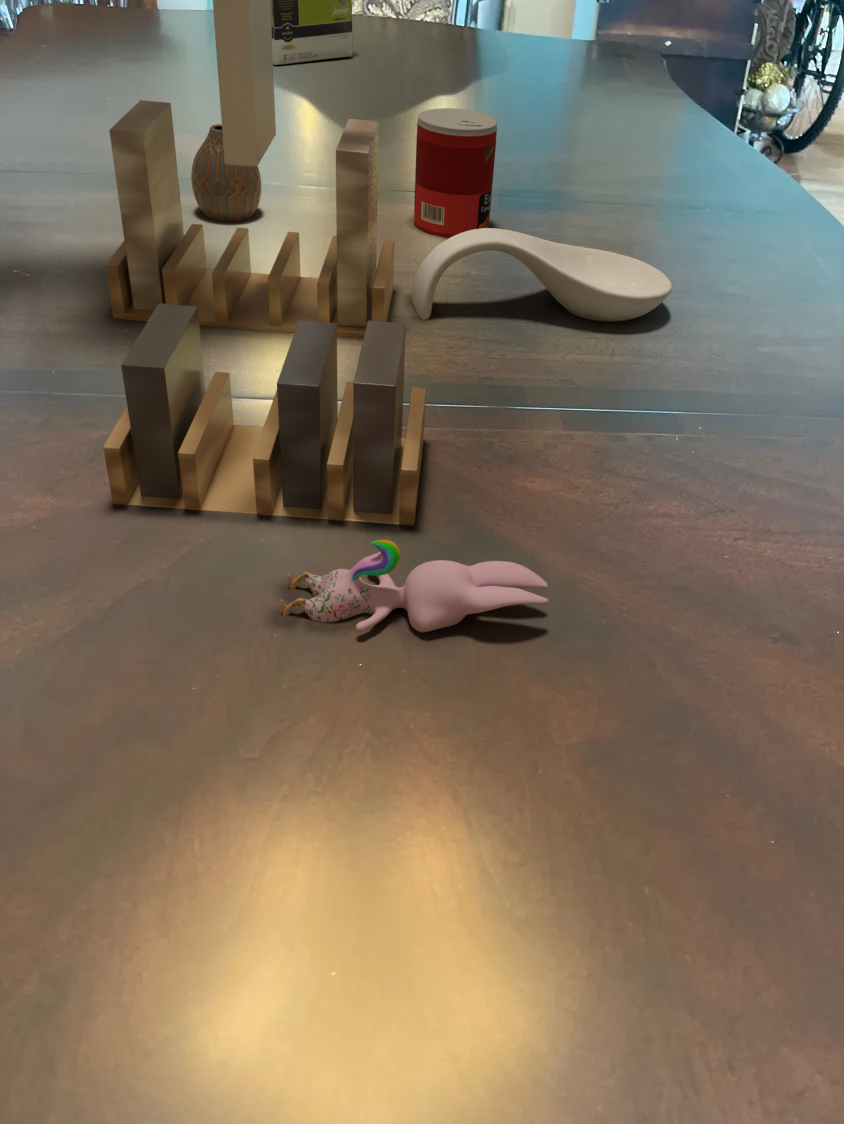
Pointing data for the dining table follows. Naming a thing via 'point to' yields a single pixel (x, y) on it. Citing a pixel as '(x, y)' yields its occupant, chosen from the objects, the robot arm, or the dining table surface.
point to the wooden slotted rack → (242, 243)
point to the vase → (223, 182)
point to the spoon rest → (555, 274)
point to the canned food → (454, 170)
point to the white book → (245, 78)
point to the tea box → (310, 30)
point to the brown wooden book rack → (268, 429)
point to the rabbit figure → (416, 590)
